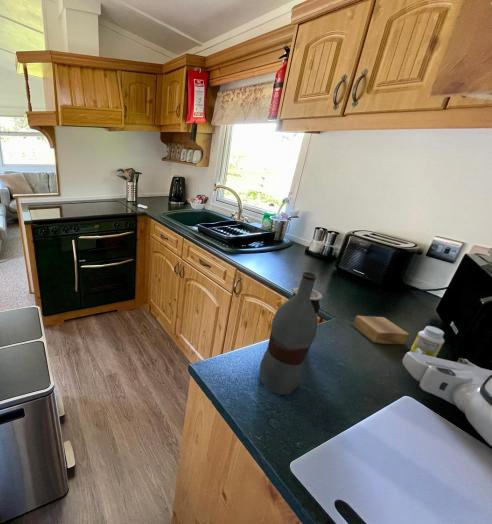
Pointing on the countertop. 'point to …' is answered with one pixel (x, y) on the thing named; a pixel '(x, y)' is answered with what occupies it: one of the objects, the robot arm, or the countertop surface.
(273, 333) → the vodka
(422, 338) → the supplement bottle
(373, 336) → the oak block
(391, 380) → the countertop surface
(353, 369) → the countertop surface
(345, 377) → the countertop surface
